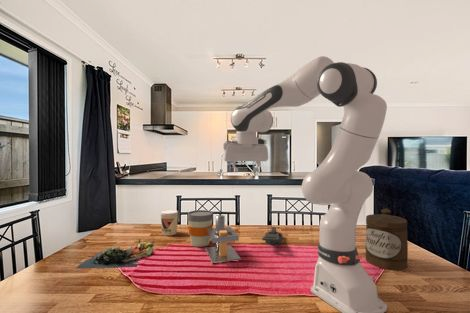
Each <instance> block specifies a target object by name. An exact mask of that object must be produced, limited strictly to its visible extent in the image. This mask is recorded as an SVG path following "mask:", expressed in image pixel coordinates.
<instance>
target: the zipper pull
mask: <svg viewBox="0 0 470 313" xmlns="http://www.w3.org/2000/svg"><path fill="white" fill-rule="evenodd" d="M261 240H262V241H265V242H264V244H265V245H268V246H280V244H281V243H282V241H283V234H282V233H281V232H279V231H277V227H276V226H272V227H271V230H270V231H267V232H265V234H264V236H263V237H261Z"/></svg>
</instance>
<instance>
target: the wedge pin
mask: <svg viewBox="0 0 470 313" xmlns="http://www.w3.org/2000/svg"><path fill="white" fill-rule="evenodd" d="M226 235H227V231H226V230H222V231H219V236H226ZM227 245H228V242H219V255H220V257H221V256H227Z"/></svg>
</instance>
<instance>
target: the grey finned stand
mask: <svg viewBox="0 0 470 313" xmlns="http://www.w3.org/2000/svg"><path fill="white" fill-rule="evenodd" d="M225 221H226V217H225V215H222V214H218V215H216V216H215V227H212V228H208V229H207V234H208V236H209V237H210V241H211V242H212V244H215V246H209V247H208V246H205V247H204V249H206V250H205V252H206V251H207V252H206V254H207V253H208V254H207V256H208V255H209V257H210V259H211V261H210V263H211V262H212V263H215V262H225V261H233V260H241V261H242V259H241V256H239V254H238V253H237V251H236V250H235V249H234V248H233V246H232V245H229V244H227V256H221V257H220V255H219V242H227V243H228V242H238V241H239V239H240V237H239V234H238V233H237V232H236V231H235V230H234V229H233V228H232V227H231V226H226V225H225ZM222 230H226V231H227V235H226V236H219V231H222ZM209 257H208V258H209ZM210 259H209V260H210ZM212 263H211V264H212Z"/></svg>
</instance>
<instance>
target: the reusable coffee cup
mask: <svg viewBox="0 0 470 313" xmlns="http://www.w3.org/2000/svg"><path fill="white" fill-rule="evenodd" d="M213 219H214V214H213V211H211V210H207V209H206V210H205V209H202V210H199V209H198V210H191V211H188V212H187V222H188V224H187V229H188V230H187V231H188V235H189V237H190V238H189V239H190V245H191V246H193V247H207V246H208V245H210V241H211V239H210V237H209V236H208V234H207V229H208V228H213Z"/></svg>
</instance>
